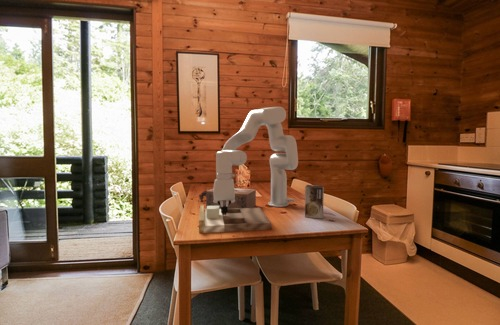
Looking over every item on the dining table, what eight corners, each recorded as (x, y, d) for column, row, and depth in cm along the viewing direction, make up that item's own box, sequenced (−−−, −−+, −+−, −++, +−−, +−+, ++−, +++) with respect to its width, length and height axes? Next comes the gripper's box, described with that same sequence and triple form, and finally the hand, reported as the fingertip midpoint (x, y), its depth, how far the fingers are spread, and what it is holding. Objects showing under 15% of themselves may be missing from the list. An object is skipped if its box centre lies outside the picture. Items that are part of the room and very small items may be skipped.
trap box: (259, 212, 152) (259, 203, 152) (271, 229, 126) (271, 217, 125) (200, 215, 147) (199, 205, 147) (199, 232, 121) (198, 220, 120)
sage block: (219, 214, 139) (219, 205, 138) (219, 217, 133) (219, 208, 132) (207, 214, 138) (207, 205, 137) (206, 218, 132) (206, 209, 132)
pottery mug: (211, 204, 174) (204, 193, 173) (201, 208, 178) (194, 198, 177) (220, 195, 184) (214, 185, 183) (210, 200, 189) (204, 190, 188)
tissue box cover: (255, 206, 168) (255, 189, 167) (246, 212, 155) (246, 194, 154) (217, 202, 178) (217, 186, 177) (206, 207, 164) (205, 190, 163)
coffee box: (323, 215, 148) (324, 185, 146) (322, 218, 142) (323, 187, 140) (306, 213, 151) (306, 184, 149) (304, 217, 145) (305, 186, 143)
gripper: (238, 175, 139) (238, 211, 140) (208, 175, 136) (208, 212, 138) (240, 177, 131) (240, 215, 133) (208, 178, 129) (208, 217, 130)
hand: (224, 214), depth 135 cm, fingers closed
